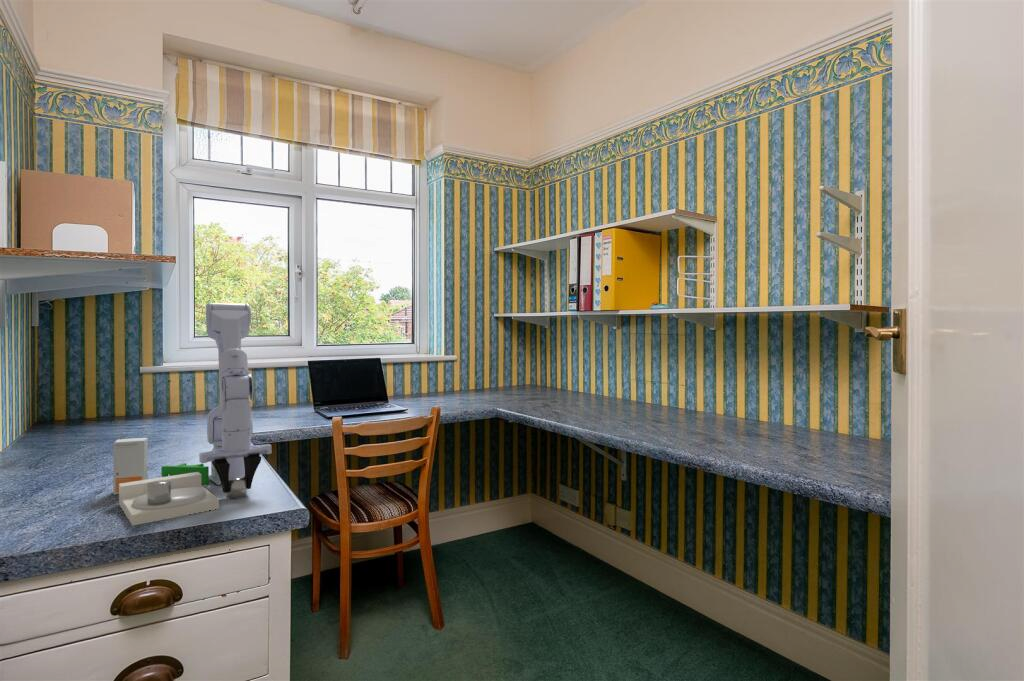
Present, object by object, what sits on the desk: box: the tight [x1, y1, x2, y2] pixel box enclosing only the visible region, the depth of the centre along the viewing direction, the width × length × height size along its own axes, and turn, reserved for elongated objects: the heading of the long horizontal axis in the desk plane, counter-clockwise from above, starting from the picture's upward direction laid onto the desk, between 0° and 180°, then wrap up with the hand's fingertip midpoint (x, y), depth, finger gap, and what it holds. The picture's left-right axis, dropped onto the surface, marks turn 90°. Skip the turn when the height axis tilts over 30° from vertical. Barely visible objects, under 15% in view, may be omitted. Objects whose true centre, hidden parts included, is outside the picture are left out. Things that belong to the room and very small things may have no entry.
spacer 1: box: [147, 480, 171, 506], centre depth 112 cm, size 4×4×4 cm
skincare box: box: [112, 437, 149, 496], centre depth 128 cm, size 6×4×12 cm
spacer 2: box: [226, 476, 248, 500], centre depth 125 cm, size 4×4×4 cm
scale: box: [118, 472, 220, 527], centre depth 117 cm, size 17×15×4 cm
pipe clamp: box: [161, 462, 210, 486], centre depth 135 cm, size 11×4×5 cm, turn 86°
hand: (236, 490), depth 125 cm, fingers closed on spacer 2, 4 cm apart
